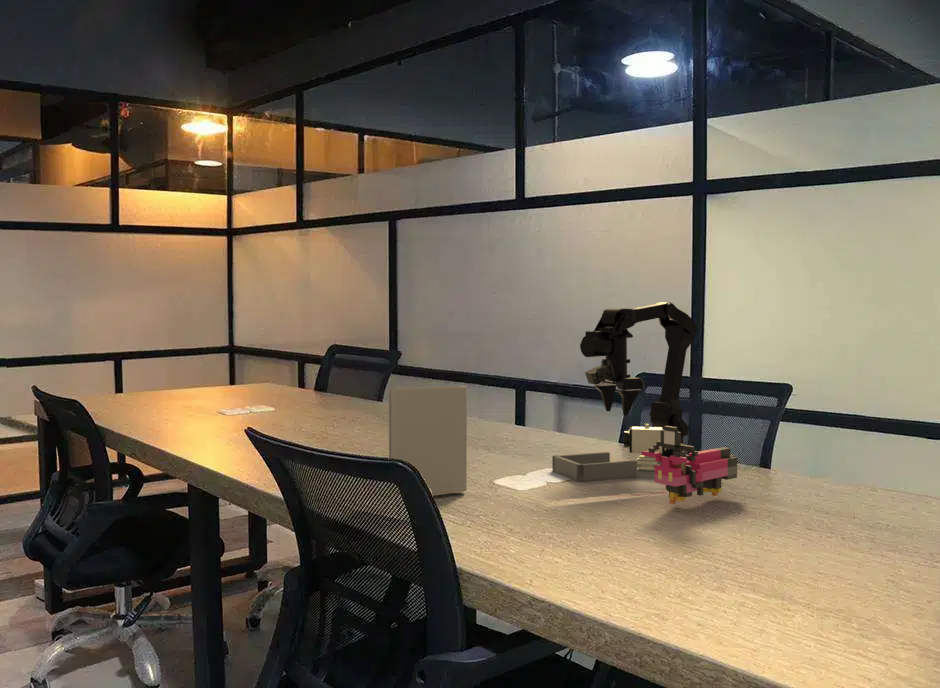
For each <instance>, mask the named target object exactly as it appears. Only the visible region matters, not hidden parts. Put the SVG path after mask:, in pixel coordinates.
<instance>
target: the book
mask: <svg viewBox="0 0 940 688" xmlns="http://www.w3.org/2000/svg"><path fill="white" fill-rule="evenodd" d="M467 393H468V387H467V386H466V385H445V386H443V385H442V386H441V385H440V386H423V387H398V388H396V387H395V388H388V459H389V458H398V459H402V460H406V461H408V462H410V463H412V464H413V465H414V466H415V467H416V468H417V469H418V470H419V471H420V473H421V474H422V476H423V478H424V479H425V481H426V483H427V485H428V486H429V488H430V489H431V491H432V494H433V496H434V495H442V494H443V495H444V494H452V493H453V494H454V493H462V492H466V491H468V489H467V488H468V487H467V483H468V482H467V478H468V477H467V469H468V468H467V467H468V466H467V465H468V464H467V459H468V458H467V457H468V455H467V454H468V453H467V451H468V450H467V449H468V447H467V446H468V445H467V444H468V443H467V441H468V439H467V436H468V435H467V431H468V429H467V428H468V427H467V424H468V422H467V420H468V419H467V418H468V417H467V416H468V414H467V413H468V411H467V409H468V407H467V400H468V399H467V398H468V396H467Z"/></svg>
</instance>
